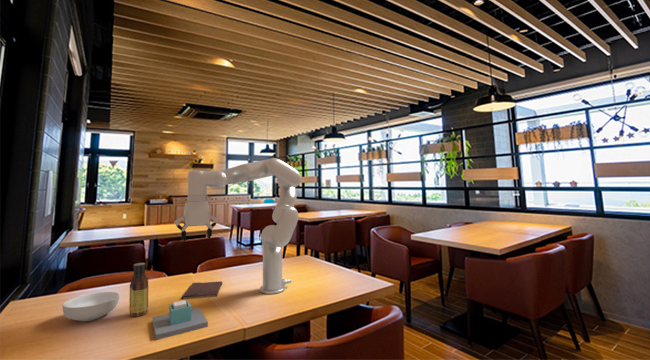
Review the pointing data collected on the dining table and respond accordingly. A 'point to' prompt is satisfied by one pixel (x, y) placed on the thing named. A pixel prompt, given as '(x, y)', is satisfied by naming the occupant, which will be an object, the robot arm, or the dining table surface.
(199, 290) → the notebook
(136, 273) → the sauce bottle
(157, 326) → the post base
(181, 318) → the teal upright block
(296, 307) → the dining table surface
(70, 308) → the cereal bowl
